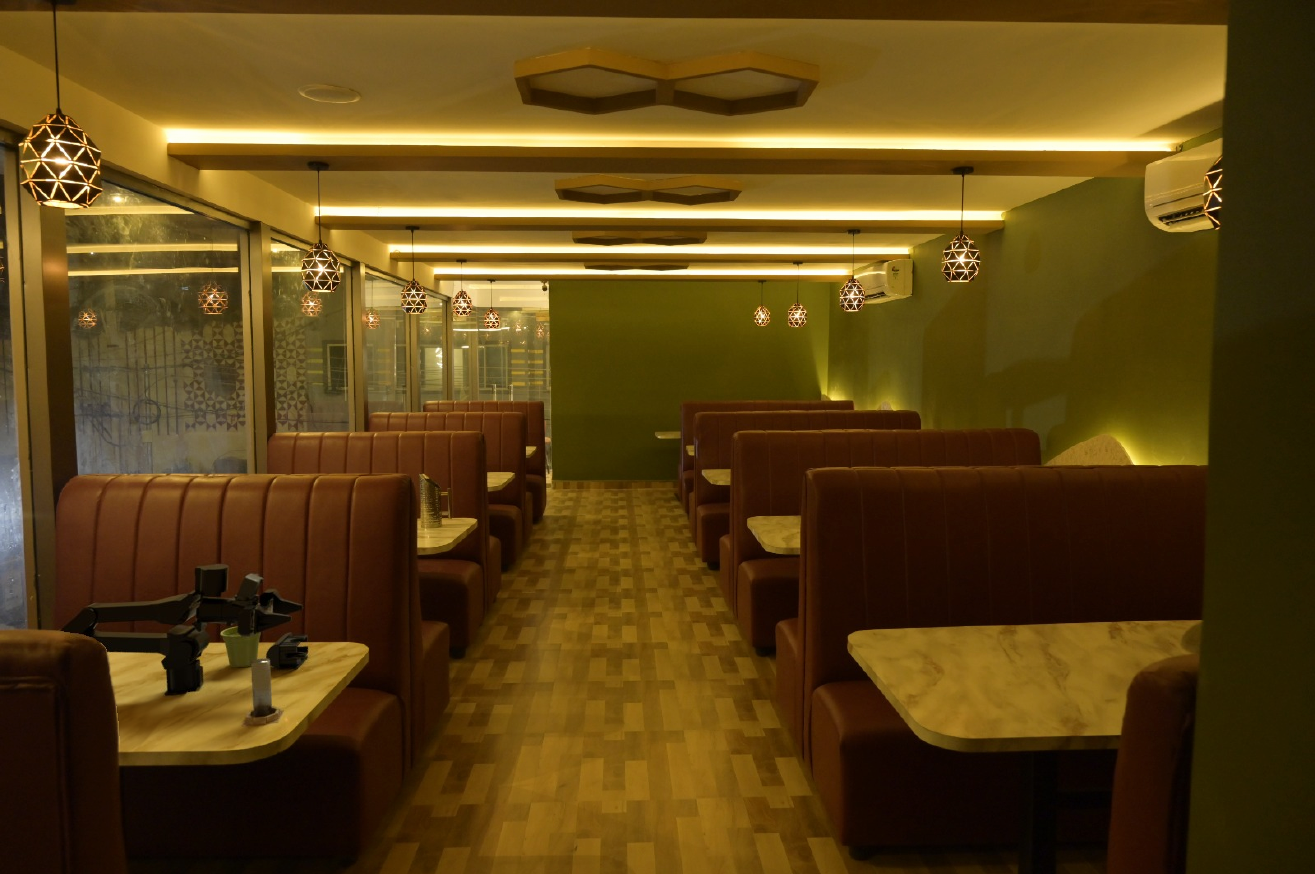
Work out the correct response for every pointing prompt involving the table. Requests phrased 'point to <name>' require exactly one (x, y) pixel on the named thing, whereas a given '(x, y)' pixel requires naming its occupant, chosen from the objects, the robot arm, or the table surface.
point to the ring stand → (263, 720)
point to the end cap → (288, 652)
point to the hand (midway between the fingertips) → (297, 612)
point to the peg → (261, 687)
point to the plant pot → (240, 647)
